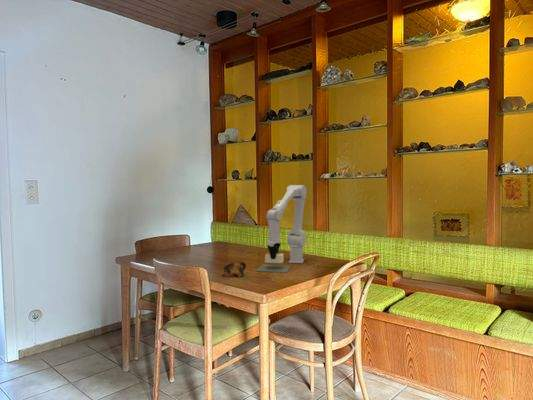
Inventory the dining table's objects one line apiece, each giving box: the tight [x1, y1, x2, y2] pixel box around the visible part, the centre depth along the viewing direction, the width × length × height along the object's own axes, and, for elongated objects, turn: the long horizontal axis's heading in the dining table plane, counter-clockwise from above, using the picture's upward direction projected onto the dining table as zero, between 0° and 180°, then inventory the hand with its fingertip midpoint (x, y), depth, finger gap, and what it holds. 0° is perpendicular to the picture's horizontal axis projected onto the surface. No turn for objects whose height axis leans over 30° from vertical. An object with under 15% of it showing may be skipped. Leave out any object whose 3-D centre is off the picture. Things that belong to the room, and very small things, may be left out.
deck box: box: [264, 252, 285, 264], centre depth 213 cm, size 9×5×4 cm, turn 78°
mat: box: [255, 263, 293, 274], centre depth 214 cm, size 16×16×1 cm
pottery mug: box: [223, 260, 247, 278], centre depth 200 cm, size 12×10×8 cm
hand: (274, 257), depth 213 cm, fingers closed on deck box, 5 cm apart
